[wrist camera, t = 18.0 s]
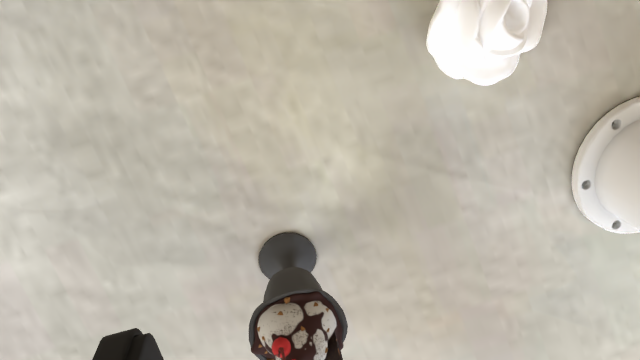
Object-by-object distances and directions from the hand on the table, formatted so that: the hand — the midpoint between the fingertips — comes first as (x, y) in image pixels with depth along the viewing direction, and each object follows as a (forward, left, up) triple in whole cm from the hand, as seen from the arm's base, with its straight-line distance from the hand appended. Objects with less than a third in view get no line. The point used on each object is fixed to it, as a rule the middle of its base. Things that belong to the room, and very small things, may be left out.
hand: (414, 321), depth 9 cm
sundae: (+4, +15, -31) cm, 34 cm away
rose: (-15, -1, -31) cm, 34 cm away
